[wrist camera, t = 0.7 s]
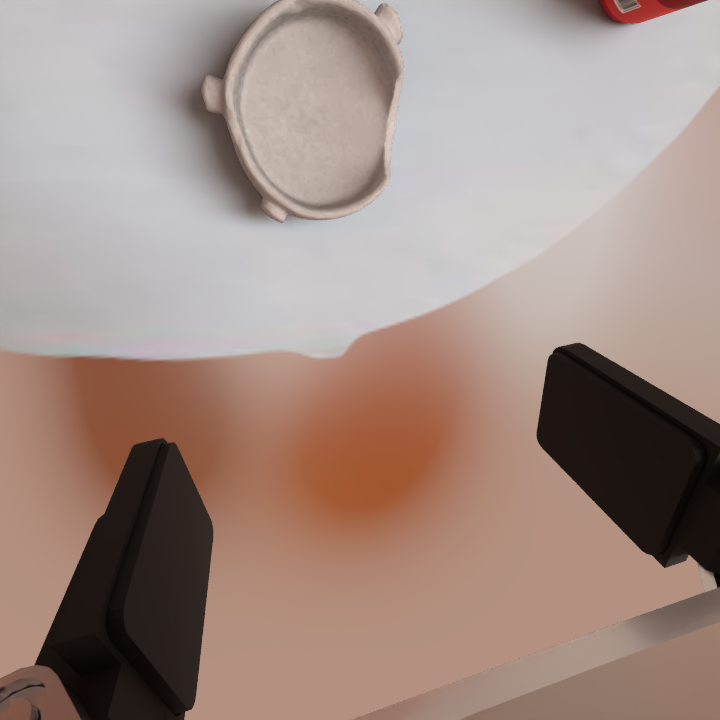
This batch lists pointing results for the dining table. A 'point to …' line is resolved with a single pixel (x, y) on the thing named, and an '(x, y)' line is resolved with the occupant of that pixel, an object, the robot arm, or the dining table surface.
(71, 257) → the dining table surface
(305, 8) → the dish
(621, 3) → the canned food
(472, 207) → the dining table surface
